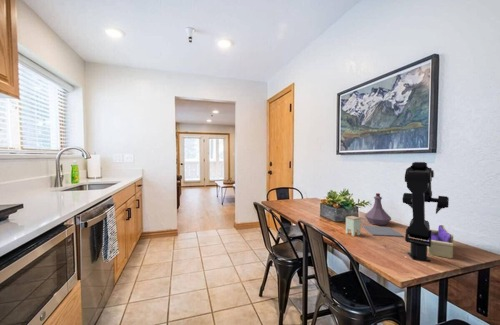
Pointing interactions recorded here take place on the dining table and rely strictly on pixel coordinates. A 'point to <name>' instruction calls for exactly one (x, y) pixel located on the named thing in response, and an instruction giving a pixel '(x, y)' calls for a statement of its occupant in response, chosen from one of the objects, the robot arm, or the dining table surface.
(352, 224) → the stool
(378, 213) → the flask
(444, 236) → the toy sofa
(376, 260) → the dining table surface
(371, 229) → the mat
